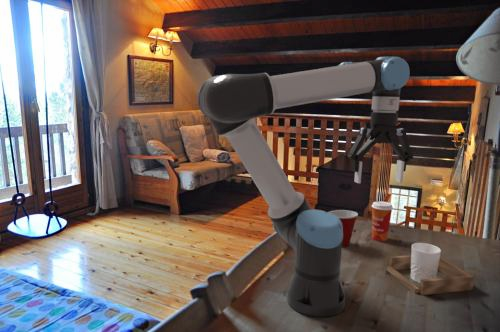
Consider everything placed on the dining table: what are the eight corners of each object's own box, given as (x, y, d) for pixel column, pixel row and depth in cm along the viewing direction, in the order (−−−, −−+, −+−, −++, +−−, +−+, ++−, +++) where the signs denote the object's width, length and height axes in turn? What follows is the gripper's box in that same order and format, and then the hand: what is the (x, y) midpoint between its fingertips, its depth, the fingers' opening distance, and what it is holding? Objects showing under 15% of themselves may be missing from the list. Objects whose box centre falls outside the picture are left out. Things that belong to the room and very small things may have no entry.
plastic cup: (339, 236, 147) (341, 206, 144) (362, 245, 138) (364, 213, 136) (319, 241, 140) (321, 211, 138) (342, 251, 132) (344, 219, 130)
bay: (417, 295, 103) (418, 282, 103) (384, 268, 119) (385, 256, 118) (472, 289, 107) (474, 276, 106) (433, 264, 123) (434, 253, 122)
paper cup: (364, 236, 147) (367, 201, 144) (381, 234, 149) (384, 200, 147) (377, 243, 140) (380, 207, 137) (394, 241, 142) (397, 205, 139)
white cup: (440, 287, 108) (444, 254, 106) (411, 283, 110) (414, 251, 108) (433, 274, 116) (437, 244, 114) (406, 271, 117) (409, 241, 116)
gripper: (350, 111, 104) (344, 185, 108) (431, 113, 109) (422, 184, 113) (339, 110, 112) (334, 179, 116) (415, 111, 116) (408, 178, 120)
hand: (378, 182), depth 114 cm, fingers open, 13 cm apart
